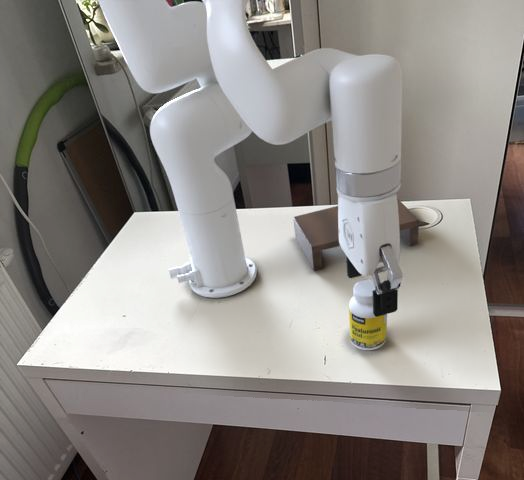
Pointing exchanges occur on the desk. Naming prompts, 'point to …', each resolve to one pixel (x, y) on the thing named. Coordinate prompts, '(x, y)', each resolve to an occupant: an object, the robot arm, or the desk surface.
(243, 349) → the desk surface
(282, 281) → the desk surface
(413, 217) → the shelf
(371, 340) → the supplement bottle
